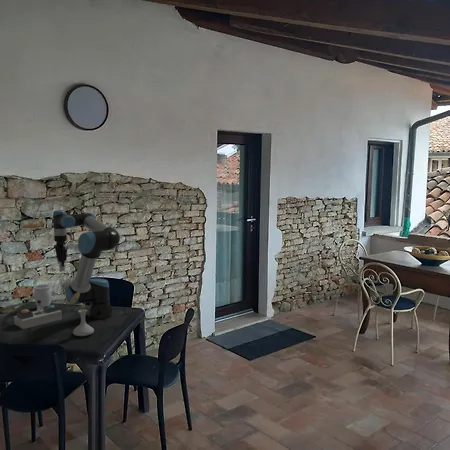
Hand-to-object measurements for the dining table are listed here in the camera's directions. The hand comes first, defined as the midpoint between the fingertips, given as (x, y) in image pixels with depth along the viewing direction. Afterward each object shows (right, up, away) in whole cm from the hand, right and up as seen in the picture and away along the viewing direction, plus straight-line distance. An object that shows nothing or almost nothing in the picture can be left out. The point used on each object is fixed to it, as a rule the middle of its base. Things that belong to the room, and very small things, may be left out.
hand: (62, 271), depth 303 cm
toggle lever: (-8, -23, -18) cm, 30 cm away
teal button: (-3, -22, -12) cm, 26 cm away
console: (-8, -29, -17) cm, 35 cm away
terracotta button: (-14, -23, -24) cm, 36 cm away
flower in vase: (+25, -32, -39) cm, 56 cm away
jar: (-15, -26, +8) cm, 31 cm away
